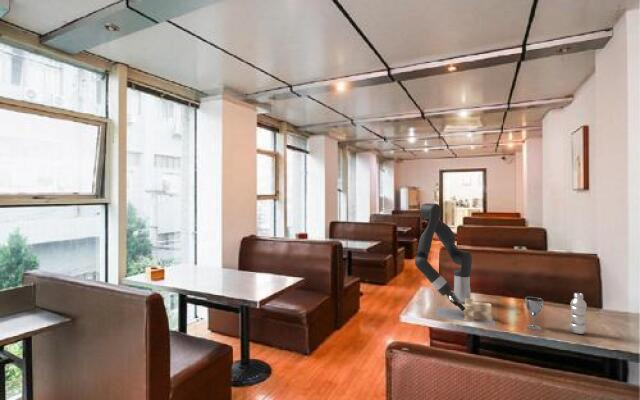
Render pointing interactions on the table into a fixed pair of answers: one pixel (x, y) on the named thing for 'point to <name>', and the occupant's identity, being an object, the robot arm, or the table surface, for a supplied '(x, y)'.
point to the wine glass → (534, 309)
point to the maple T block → (477, 310)
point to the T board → (460, 316)
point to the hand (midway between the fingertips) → (463, 309)
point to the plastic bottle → (578, 314)
